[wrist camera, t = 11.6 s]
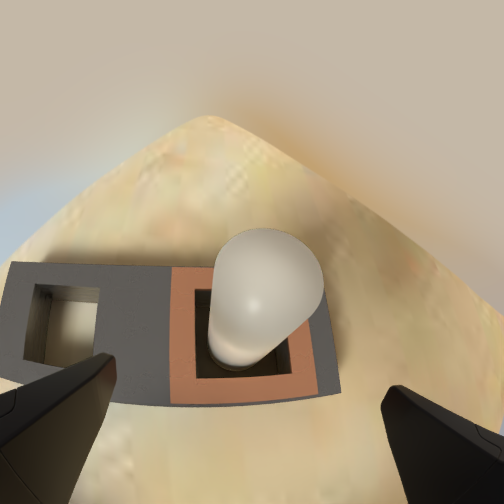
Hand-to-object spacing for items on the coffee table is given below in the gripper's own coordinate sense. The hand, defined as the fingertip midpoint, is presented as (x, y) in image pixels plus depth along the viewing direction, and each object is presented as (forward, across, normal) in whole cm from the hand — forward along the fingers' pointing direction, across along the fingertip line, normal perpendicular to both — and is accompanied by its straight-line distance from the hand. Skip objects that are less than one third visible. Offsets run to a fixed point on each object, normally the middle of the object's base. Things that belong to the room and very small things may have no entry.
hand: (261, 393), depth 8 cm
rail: (+10, +6, +6) cm, 13 cm away
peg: (+11, 0, +5) cm, 12 cm away
